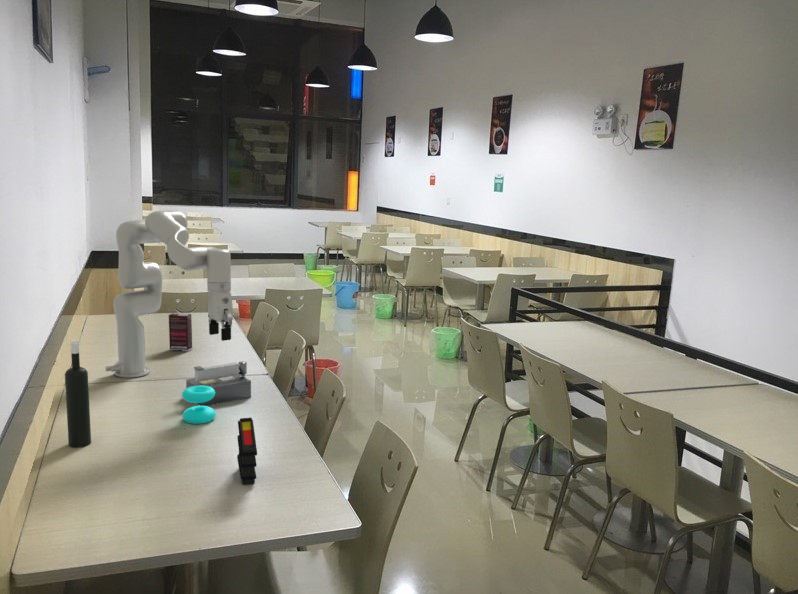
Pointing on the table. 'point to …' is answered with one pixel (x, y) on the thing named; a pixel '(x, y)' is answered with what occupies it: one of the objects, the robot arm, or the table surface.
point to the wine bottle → (77, 401)
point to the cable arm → (220, 371)
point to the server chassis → (225, 388)
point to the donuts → (198, 412)
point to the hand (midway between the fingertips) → (220, 337)
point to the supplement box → (180, 331)
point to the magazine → (247, 451)
